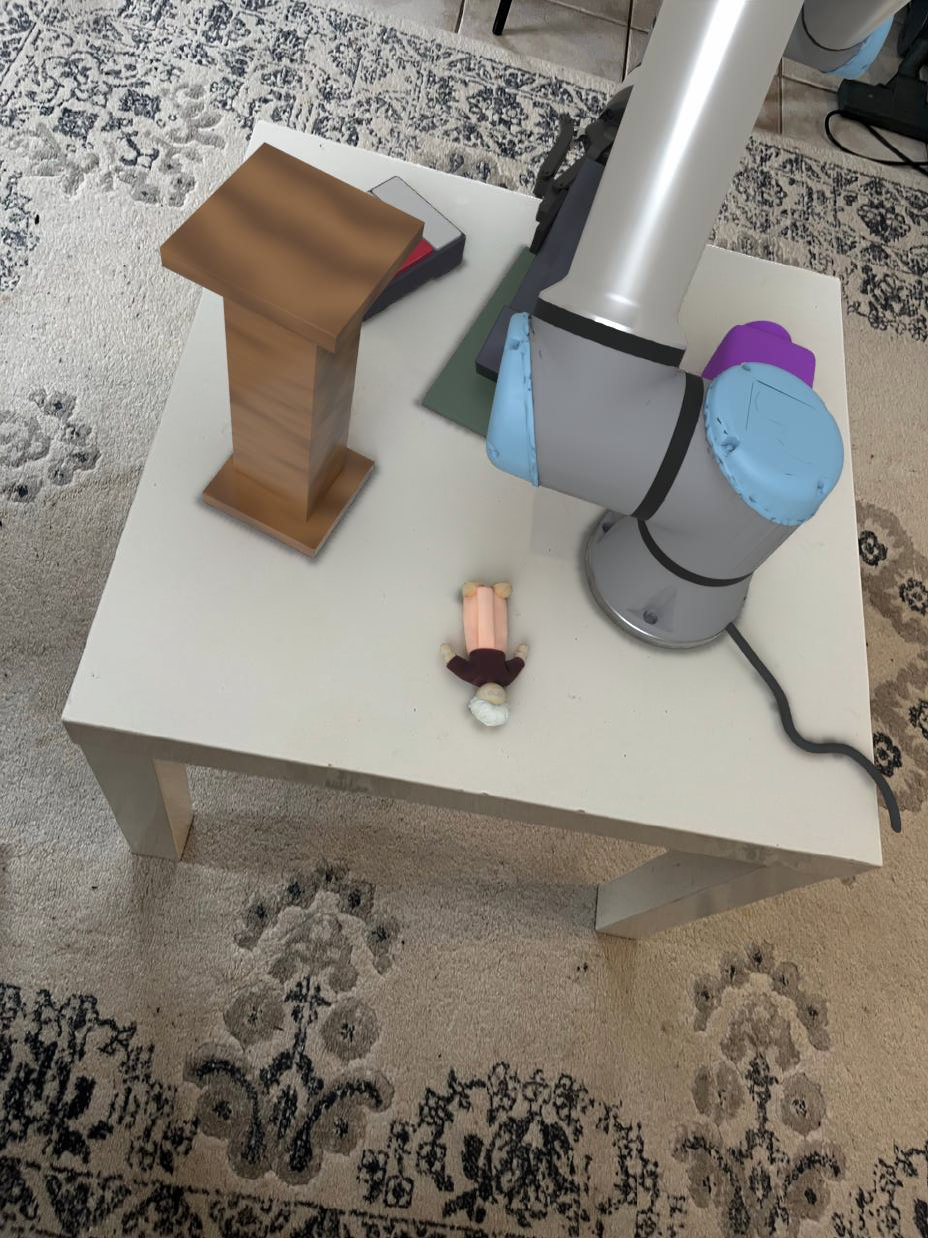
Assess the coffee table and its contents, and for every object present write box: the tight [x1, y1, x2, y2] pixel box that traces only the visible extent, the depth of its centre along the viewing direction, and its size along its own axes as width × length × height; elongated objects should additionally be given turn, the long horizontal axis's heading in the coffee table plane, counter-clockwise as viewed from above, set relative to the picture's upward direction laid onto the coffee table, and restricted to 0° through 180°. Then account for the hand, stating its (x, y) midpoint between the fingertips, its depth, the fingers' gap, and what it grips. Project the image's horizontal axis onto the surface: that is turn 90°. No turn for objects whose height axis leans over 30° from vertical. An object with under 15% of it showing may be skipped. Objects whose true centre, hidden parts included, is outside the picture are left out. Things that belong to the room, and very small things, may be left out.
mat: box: [421, 245, 536, 439], centre depth 93 cm, size 26×11×1 cm, turn 155°
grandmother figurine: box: [439, 581, 530, 727], centre depth 75 cm, size 8×4×13 cm
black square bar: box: [475, 157, 606, 383], centre depth 85 cm, size 22×4×4 cm, turn 155°
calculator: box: [362, 175, 467, 322], centre depth 93 cm, size 11×4×15 cm
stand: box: [159, 141, 425, 560], centre depth 68 cm, size 12×12×28 cm
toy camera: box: [699, 320, 817, 389], centre depth 90 cm, size 11×14×10 cm
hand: (557, 251), depth 83 cm, fingers closed on black square bar, 4 cm apart
